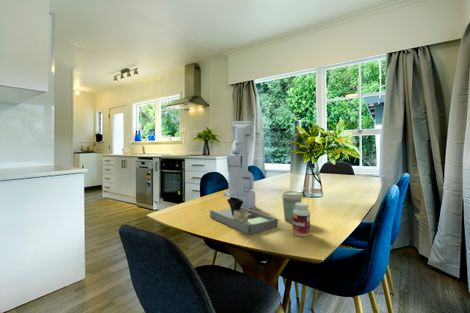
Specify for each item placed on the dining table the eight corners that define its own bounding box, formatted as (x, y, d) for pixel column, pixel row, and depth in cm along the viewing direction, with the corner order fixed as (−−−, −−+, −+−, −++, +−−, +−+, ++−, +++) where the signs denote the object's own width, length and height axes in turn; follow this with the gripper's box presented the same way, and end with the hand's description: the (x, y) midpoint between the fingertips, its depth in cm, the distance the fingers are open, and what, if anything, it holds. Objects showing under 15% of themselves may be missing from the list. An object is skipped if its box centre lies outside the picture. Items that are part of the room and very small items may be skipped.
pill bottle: (289, 234, 89) (289, 204, 89) (296, 229, 94) (297, 201, 93) (305, 238, 85) (306, 206, 85) (312, 233, 90) (313, 203, 89)
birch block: (241, 218, 101) (241, 209, 100) (247, 221, 97) (247, 211, 97) (233, 220, 98) (233, 210, 98) (239, 223, 95) (239, 213, 95)
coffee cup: (302, 218, 107) (303, 191, 107) (301, 225, 99) (301, 195, 99) (282, 217, 110) (283, 190, 109) (280, 222, 102) (280, 194, 101)
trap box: (236, 211, 118) (236, 205, 118) (277, 227, 97) (277, 219, 96) (210, 217, 110) (210, 210, 109) (249, 235, 88) (249, 226, 88)
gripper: (217, 181, 103) (217, 213, 104) (238, 186, 92) (238, 222, 92) (231, 180, 107) (231, 211, 108) (253, 184, 96) (252, 219, 96)
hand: (235, 216), depth 100 cm, fingers closed
